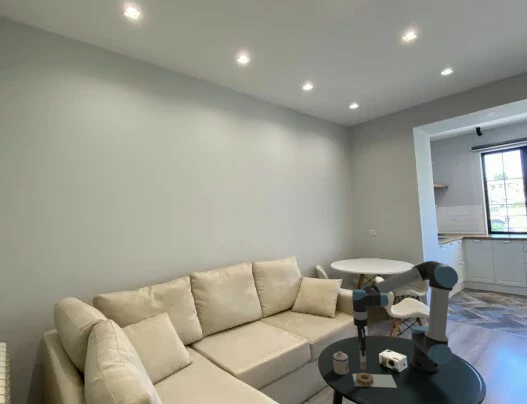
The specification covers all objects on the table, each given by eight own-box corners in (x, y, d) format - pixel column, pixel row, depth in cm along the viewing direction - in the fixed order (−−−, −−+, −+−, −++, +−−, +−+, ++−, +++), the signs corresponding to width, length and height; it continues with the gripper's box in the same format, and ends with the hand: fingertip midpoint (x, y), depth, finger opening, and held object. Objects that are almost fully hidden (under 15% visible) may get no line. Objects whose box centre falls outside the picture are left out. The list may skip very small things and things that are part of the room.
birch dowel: (365, 367, 165) (364, 342, 165) (366, 370, 162) (365, 344, 162) (360, 366, 165) (358, 342, 165) (360, 369, 162) (359, 344, 163)
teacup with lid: (349, 375, 170) (348, 355, 170) (334, 375, 172) (332, 355, 172) (348, 364, 182) (346, 346, 182) (333, 364, 184) (331, 345, 184)
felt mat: (391, 375, 168) (391, 374, 168) (397, 388, 156) (397, 387, 156) (352, 374, 172) (352, 373, 172) (355, 386, 160) (355, 386, 160)
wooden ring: (371, 377, 167) (371, 372, 167) (375, 386, 158) (374, 382, 158) (355, 376, 168) (355, 372, 168) (358, 386, 159) (357, 381, 160)
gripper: (351, 312, 173) (354, 352, 172) (355, 323, 157) (358, 366, 156) (364, 312, 171) (367, 352, 171) (370, 323, 156) (372, 367, 155)
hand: (362, 359), depth 163 cm, fingers closed on birch dowel, 3 cm apart
